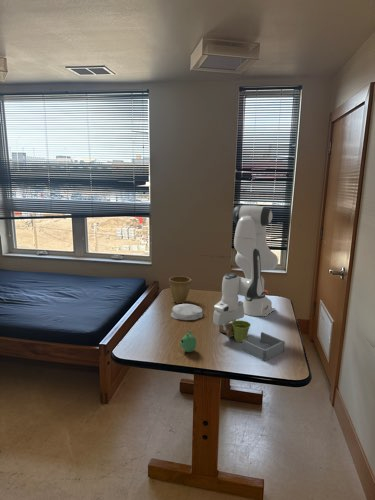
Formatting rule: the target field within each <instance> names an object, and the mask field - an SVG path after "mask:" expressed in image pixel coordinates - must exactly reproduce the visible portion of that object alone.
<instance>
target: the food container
mask: <svg viewBox="0 0 375 500" xmlns="http://www.w3.org/2000/svg"><path fill="white" fill-rule="evenodd" d="M171 310H172V311H171V313H170V316H171V317H172V319H176V320H179V321H180V320H181V321H197V320H198V319H202V318H203V317H204V314H203V308H202V307H201V306H199V305H196V304H192V303H182V304H176V305H173V306H172V308H171Z"/></svg>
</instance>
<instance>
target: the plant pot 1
mask: <svg viewBox="0 0 375 500" xmlns="http://www.w3.org/2000/svg"><path fill="white" fill-rule="evenodd" d="M168 280H169V281H168V282H169V287H170V288H169V289H170V293H171V297H172V300H173V301H174V302H173V303H175V302H176V303H175V304H178V303H182V304H185V303H186V301H187V299H188V295H189V293H190V289H191V283H192V279H191V278H190V277H187V276H182V275H181V276H172V277H169V279H168ZM184 302H185V303H184Z"/></svg>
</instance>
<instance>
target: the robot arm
mask: <svg viewBox="0 0 375 500" xmlns="http://www.w3.org/2000/svg"><path fill="white" fill-rule="evenodd" d="M231 216H232V220H233V222H234V223H235V224H236V227H235V231H234V232H235V233H234V239H233V246H234V249H235V250H236V252H237V253H236V255H235V257H234V262H235V264H236V265H237V266H238V268H239V269H241V270H242V272H243V274H244V277H242V276H239V274H238V273H235V272H229V273H225V274H224V275H223V277H222V283H221V294H222V296H221V300H219V301H218V302H217V303H216V304H214V306H213V309H214V311H213V316H212V317H213V319H212V321H213V322H212V323H213V324H214V325H215V326H218V327H219V326H220V325H223V330H225V331H226V325H227V323H228V322H229V323H232V322H234V321H238V320H240V319H242V318H244V316H245V315H248V316H250V317H251V316H252V317H264V316H265V317H267V316H269V315H270V314H272V313H273V312H272V311H274V310H275V311H276V308H275V307H274V306H273V305H272V301H271V300H270V299H269V298H268V297H267V296H266V295H267V294H269V290H266V289H265V279H264V277H263V276H262V270H263V271H272V270H275V269H276V268H277V267H278V264H279V259H278V255H276V253H275V252H273V251H272V250H271V249H270V248H269V245H268V243H267V226H269V225H270V224H271V222H272V220H273V211H272V209H271V208H270V207H268V206H260V205H254V204H253V205H242V204H240V205H236V206H235V207H234V208H233V210H232V215H231ZM239 296H242V297H243V301H242V300H239ZM272 307H273V308H272ZM275 311H274V312H275ZM271 312H272V313H271ZM269 313H270V314H269ZM268 314H269V315H268Z"/></svg>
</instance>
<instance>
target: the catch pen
mask: <svg viewBox="0 0 375 500" xmlns="http://www.w3.org/2000/svg"><path fill="white" fill-rule="evenodd" d="M259 340H260V343H263V344H264V345H267V346H269V347H267V348H262V346H261V347H260V346H259V345H256V344H254V343H253V342H250V341H249V340H242V342H241V343H242V345H241V350H242V351H243V352H245V353H248V354H250V355H251V356H254V357H255V358H257V359H259V360H261V361H264V362H265V361H267V360H269V359H271V358H274V357H276V356H277V355H280V354H281V353H283V352H285V343H286V341H285V340H282V339H280V338H277V337H275V336H272V335H270V334H267V333H266V332H263V331H261V332H260V339H259Z"/></svg>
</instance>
